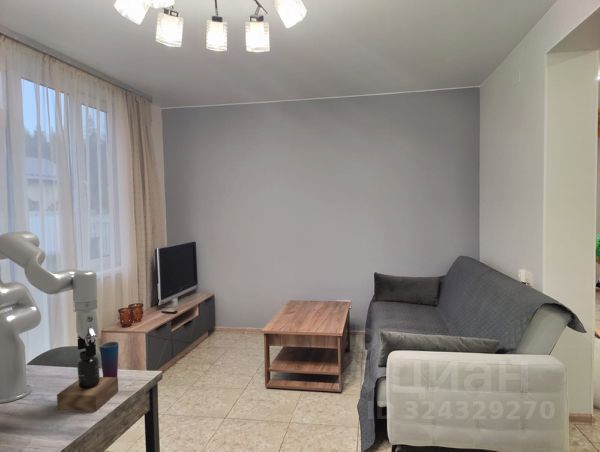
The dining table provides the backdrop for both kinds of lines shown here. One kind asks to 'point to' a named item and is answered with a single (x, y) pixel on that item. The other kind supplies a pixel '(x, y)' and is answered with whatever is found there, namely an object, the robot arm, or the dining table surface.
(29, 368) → the dining table surface
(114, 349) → the cup
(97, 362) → the supplement bottle
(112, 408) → the dining table surface
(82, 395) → the walnut block
